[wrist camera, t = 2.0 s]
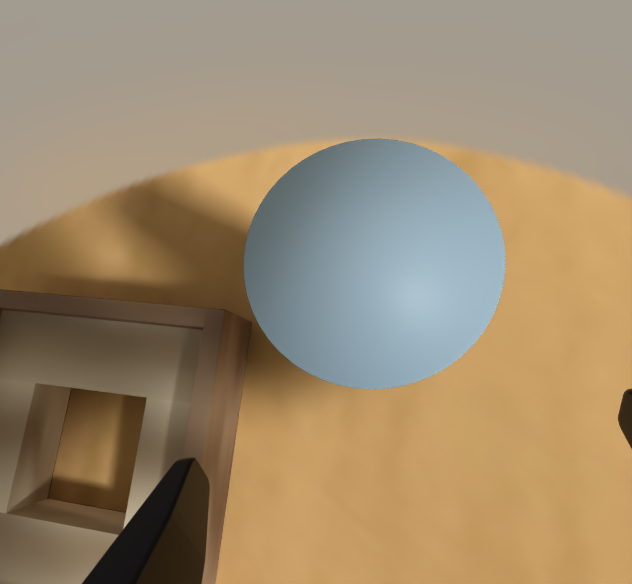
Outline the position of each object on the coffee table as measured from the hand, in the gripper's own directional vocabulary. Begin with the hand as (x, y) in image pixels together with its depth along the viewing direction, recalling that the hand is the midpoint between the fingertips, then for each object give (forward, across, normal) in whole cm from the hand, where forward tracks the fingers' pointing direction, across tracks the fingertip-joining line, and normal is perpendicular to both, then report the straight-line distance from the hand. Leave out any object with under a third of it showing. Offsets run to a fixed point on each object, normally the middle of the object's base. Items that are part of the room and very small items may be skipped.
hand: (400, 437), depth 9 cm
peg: (+10, 0, +6) cm, 11 cm away
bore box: (+8, +14, +8) cm, 17 cm away
